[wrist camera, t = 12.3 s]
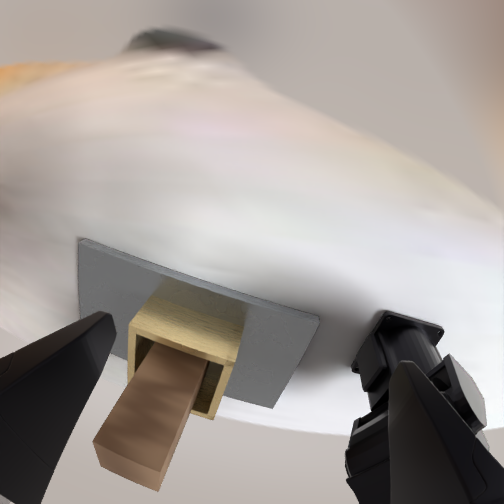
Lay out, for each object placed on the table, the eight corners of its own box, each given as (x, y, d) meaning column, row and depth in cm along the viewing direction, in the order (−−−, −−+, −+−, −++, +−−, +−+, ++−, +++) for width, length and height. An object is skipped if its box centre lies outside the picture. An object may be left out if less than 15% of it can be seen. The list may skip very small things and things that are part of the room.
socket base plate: (318, 316, 23) (322, 360, 18) (273, 401, 27) (268, 442, 23) (85, 238, 23) (48, 263, 18) (87, 333, 27) (61, 363, 23)
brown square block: (216, 337, 23) (160, 472, 12) (207, 369, 25) (158, 491, 14) (169, 320, 24) (92, 441, 12) (164, 353, 25) (100, 466, 14)
